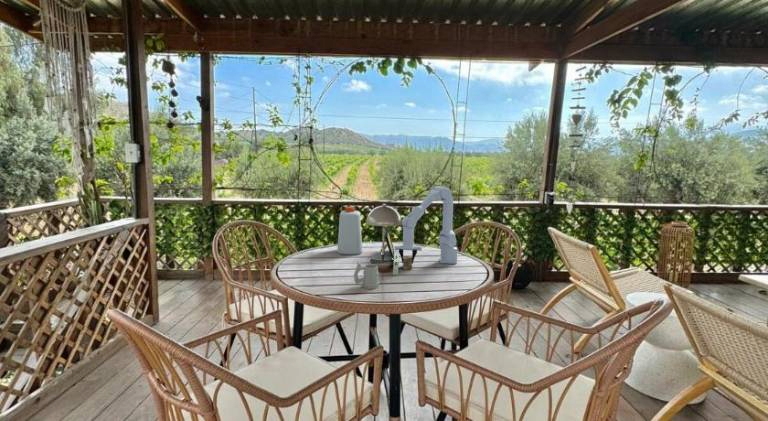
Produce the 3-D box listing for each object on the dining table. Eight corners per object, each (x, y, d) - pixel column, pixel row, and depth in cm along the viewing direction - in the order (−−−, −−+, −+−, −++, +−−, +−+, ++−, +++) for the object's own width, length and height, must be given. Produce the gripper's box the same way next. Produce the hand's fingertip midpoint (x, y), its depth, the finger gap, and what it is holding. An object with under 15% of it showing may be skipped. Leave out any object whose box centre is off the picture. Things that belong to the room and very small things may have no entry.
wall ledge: (398, 260, 218) (398, 252, 218) (397, 274, 193) (398, 266, 192) (394, 259, 219) (394, 252, 218) (393, 274, 193) (393, 266, 192)
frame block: (411, 264, 209) (411, 256, 208) (411, 269, 201) (412, 260, 200) (403, 264, 209) (403, 255, 208) (403, 269, 201) (403, 260, 200)
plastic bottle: (362, 248, 242) (362, 205, 237) (362, 255, 227) (362, 209, 223) (338, 248, 241) (338, 205, 237) (336, 255, 226) (336, 209, 222)
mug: (380, 288, 173) (380, 263, 172) (354, 290, 172) (354, 264, 170) (377, 283, 181) (378, 259, 179) (353, 284, 179) (353, 259, 177)
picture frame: (394, 260, 217) (391, 235, 214) (378, 262, 217) (375, 236, 215) (393, 249, 239) (391, 227, 237) (379, 251, 240) (377, 228, 237)
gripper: (421, 237, 206) (420, 261, 209) (395, 236, 207) (394, 260, 209) (422, 240, 199) (421, 265, 202) (394, 239, 200) (394, 264, 202)
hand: (407, 263), depth 205 cm, fingers closed on frame block, 4 cm apart
